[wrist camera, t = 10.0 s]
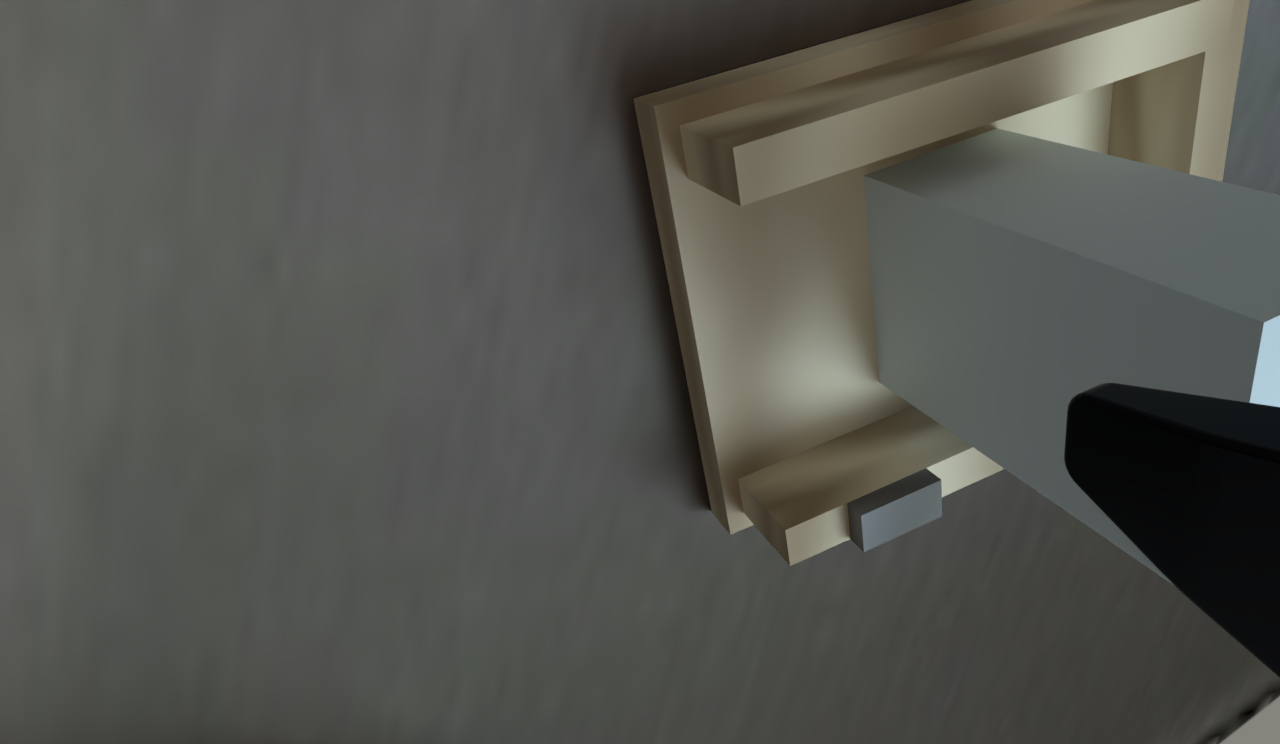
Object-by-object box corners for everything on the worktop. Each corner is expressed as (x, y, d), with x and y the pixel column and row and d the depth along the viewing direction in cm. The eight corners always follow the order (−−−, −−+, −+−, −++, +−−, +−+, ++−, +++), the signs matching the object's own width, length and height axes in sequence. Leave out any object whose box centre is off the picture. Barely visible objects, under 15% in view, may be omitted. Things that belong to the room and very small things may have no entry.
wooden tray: (711, 511, 25) (787, 604, 22) (633, 98, 19) (719, 131, 16) (1088, 351, 29) (1207, 408, 25) (1119, -43, 23) (1282, -42, 19)
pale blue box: (879, 382, 24) (1211, 611, 16) (863, 175, 21) (1263, 322, 13) (995, 333, 25) (1368, 524, 17) (997, 128, 22) (1451, 236, 14)
